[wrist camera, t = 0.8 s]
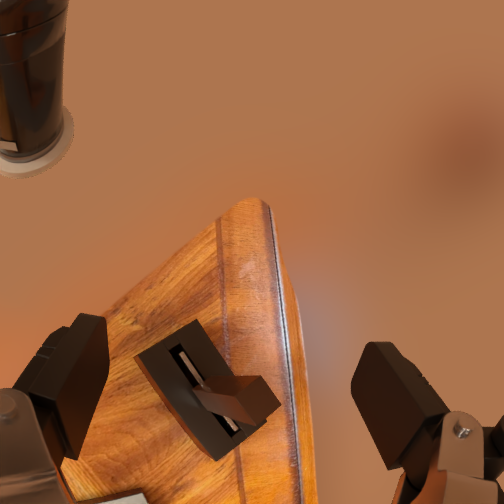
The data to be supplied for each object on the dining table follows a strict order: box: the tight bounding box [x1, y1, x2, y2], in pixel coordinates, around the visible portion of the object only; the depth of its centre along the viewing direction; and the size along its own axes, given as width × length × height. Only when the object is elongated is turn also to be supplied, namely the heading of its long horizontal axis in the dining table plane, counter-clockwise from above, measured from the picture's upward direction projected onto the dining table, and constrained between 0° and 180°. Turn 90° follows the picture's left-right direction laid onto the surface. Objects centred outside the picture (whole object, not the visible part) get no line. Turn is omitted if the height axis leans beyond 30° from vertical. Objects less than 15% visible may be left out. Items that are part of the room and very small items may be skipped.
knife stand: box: [134, 319, 267, 461], centre depth 27 cm, size 6×11×5 cm, turn 37°
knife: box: [171, 351, 281, 431], centre depth 22 cm, size 2×8×15 cm, turn 37°
